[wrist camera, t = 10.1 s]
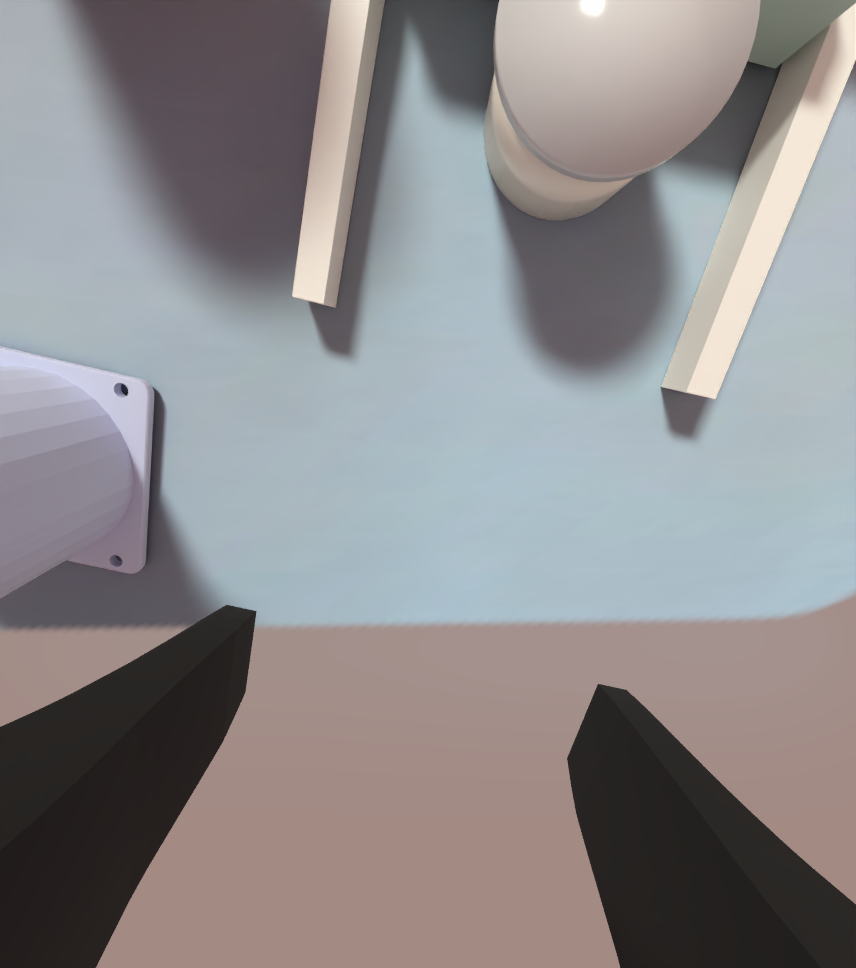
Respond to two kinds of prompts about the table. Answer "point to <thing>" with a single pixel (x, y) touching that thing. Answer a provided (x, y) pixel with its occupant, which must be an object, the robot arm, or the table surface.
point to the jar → (605, 92)
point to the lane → (741, 240)
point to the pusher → (791, 27)
